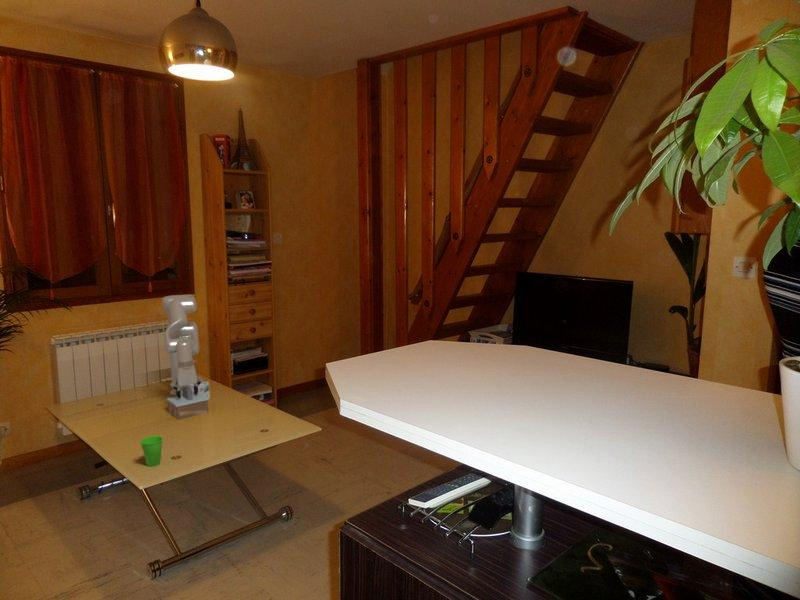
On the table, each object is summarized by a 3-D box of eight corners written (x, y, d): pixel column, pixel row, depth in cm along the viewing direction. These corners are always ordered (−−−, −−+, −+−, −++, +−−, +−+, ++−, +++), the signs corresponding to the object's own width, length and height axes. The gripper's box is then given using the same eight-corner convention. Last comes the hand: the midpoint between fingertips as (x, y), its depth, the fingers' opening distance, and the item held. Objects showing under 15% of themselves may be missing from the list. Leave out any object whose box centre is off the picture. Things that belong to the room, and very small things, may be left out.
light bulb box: (210, 399, 318) (209, 381, 316) (205, 403, 311) (203, 384, 310) (192, 399, 319) (191, 381, 317) (187, 402, 312) (185, 384, 311)
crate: (169, 414, 294) (168, 400, 293) (199, 407, 304) (198, 393, 303) (178, 421, 283) (177, 406, 282) (208, 414, 294) (207, 399, 292)
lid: (167, 402, 293) (165, 389, 292) (198, 395, 304) (197, 382, 303) (176, 409, 282) (175, 395, 281) (209, 401, 292) (208, 388, 291)
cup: (137, 466, 232) (134, 442, 230) (154, 458, 240) (152, 434, 238) (152, 470, 228) (150, 445, 227) (169, 461, 236) (167, 437, 235)
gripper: (199, 359, 298) (201, 390, 301) (165, 365, 287) (168, 397, 289) (204, 362, 292) (206, 393, 295) (170, 368, 281) (173, 401, 284)
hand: (187, 395), depth 292 cm, fingers open, 8 cm apart
